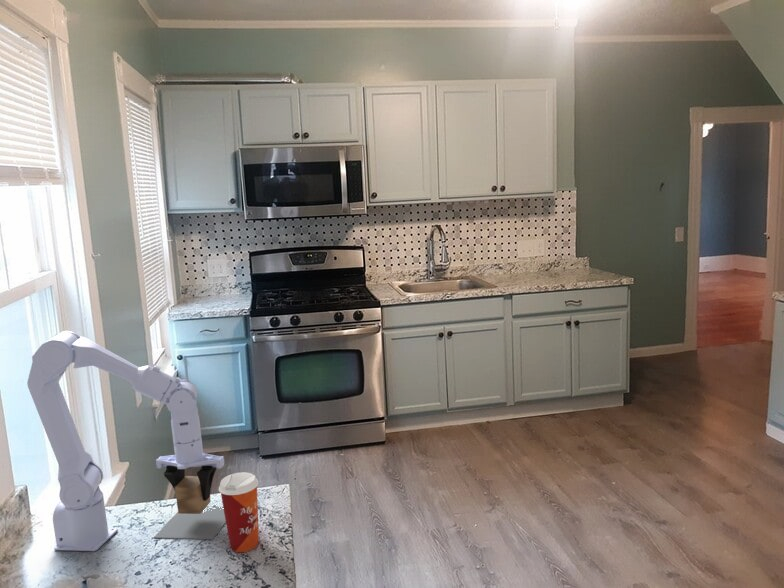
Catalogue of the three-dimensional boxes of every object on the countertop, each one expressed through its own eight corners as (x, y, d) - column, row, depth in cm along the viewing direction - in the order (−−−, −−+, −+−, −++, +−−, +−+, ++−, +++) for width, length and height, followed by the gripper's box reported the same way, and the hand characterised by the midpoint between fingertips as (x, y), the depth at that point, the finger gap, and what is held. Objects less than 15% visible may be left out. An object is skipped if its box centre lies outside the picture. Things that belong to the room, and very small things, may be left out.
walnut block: (178, 513, 130) (174, 487, 129) (189, 501, 135) (185, 476, 134) (200, 513, 130) (197, 487, 129) (210, 501, 135) (207, 476, 133)
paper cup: (254, 556, 119) (247, 489, 117) (218, 554, 121) (210, 487, 118) (270, 535, 127) (264, 471, 124) (235, 532, 128) (229, 469, 126)
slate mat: (153, 538, 128) (153, 537, 128) (183, 506, 141) (183, 506, 141) (212, 539, 126) (212, 538, 126) (237, 507, 139) (237, 506, 139)
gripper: (145, 446, 128) (153, 507, 130) (211, 446, 125) (218, 507, 128) (162, 433, 134) (170, 491, 137) (225, 432, 132) (231, 491, 134)
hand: (194, 498), depth 133 cm, fingers closed on walnut block, 5 cm apart
